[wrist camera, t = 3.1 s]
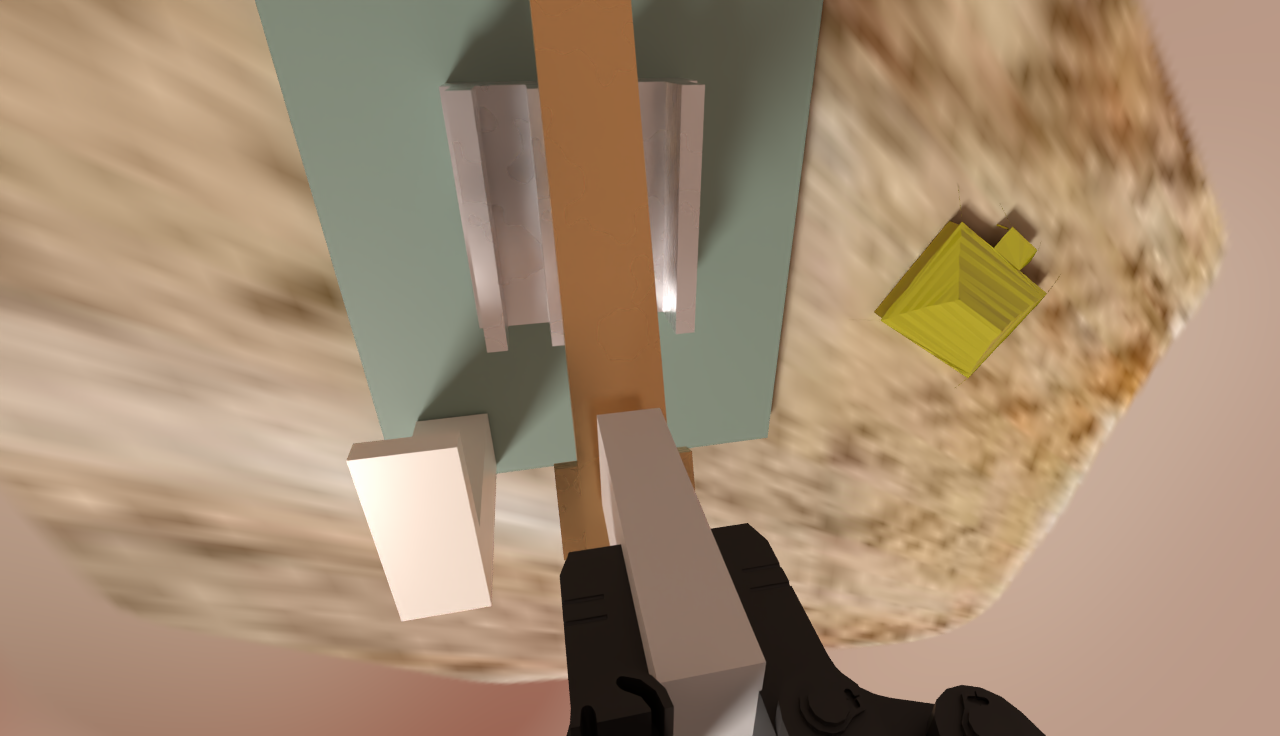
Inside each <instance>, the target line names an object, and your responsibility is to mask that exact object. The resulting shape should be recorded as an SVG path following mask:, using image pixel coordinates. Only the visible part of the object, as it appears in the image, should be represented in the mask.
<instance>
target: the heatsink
mask: <svg viewBox="0 0 1280 736" xmlns="http://www.w3.org/2000/svg"><path fill="white" fill-rule="evenodd" d="M638 88H639V100H640V112H641V123H642V135H643V147H644V159H645V170H646V182H647V194H648V206H649V217H650V229H651V241H652V253H653V264H654V276H655V288H656V299H657V311H658V312H663V313H664V314H665V316H666V318H667V320H668V322H669V323H670V325H671V327H672V329H673V330H674V332H675V334H683V333H693V332H695V309H696V285H697V262H698V238H699V215H700V191H701V168H702V144H703V121H704V97H705V85H704V84H699V83H697V81H696V80H691V79H685V78H648V79H638ZM439 91H440V97H441V103H442V109H443V115H444V121H445V127H446V133H447V139H448V145H449V151H450V156H451V162H452V168H453V174H454V180H455V186H456V192H457V198H458V204H459V210H460V216H461V222H462V227H463V233H464V239H465V245H466V251H467V257H468V263H469V269H470V275H471V281H472V287H473V293H474V298H475V304H476V310H477V316H478V322H479V328H483V330H484V336H485V342H486V348H487V353H489V352H499V351H508V330H509V326H512V325H523V324H534V323H545V322H549V325H550V332H551V340H552V346H561V345H565V343H564V333H563V323H562V314H561V304H560V294H559V285H558V275H557V265H556V256H555V246H554V236H553V227H552V217H551V207H550V198H549V188H548V178H547V169H546V159H545V149H544V139H543V130H542V120H541V110H540V101H539V91H538V81H510V82H464V83H444V84H443V85H441V86H439Z"/></svg>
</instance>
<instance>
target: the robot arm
mask: <svg viewBox="0 0 1280 736" xmlns="http://www.w3.org/2000/svg"><path fill="white" fill-rule="evenodd" d="M597 428H598V445H599V462H600V478H601V495H602V507H603V512H604V517H605V522H606V527H607V532H608V538H609V543H610V546H606V547H600V548H593V549H587V550H580V551H574V552H569V553H568V556H567V558H566V561H565V564H564V566H563V569H562V571H561V574H560V585H561V597H562V609H563V621H564V633H565V645H566V657H567V669H568V680H569V691H570V704H571V716H570V725H569V729H568V732H567V736H1046V735H1045V734H1043V733H1042V732H1041V731H1040V730H1039V729H1038V728H1037V727H1036V726H1035V725H1034V724H1033V723H1032V722H1031V721H1030V720H1029V719H1028V718H1027V717H1026V716H1025V715H1024V714H1023V713H1022V712H1021V711H1019V710H1018V709H1017V708H1015V707H1014V706H1013V705H1011V704H1010V703H1009V702H1007V701H1006V700H1005V699H1004V698H1002V697H1000V696H998V695H996V694H994V693H992V692H990V691H987V690H985V689H983V688H980V687H973V686H965V685H960V686H956V687H953V688H949V689H946V690H945V691H944V692H943V693H942V694H941V695H940V697H939V698H938V699H937V700H936V702H935V704H930V703H923V702H916V701H909V700H901V699H895V698H888V697H884V696H880V695H876V694H873V693H871V692H869V691H867V690H865V689H863V688H860V687H859V686H858V684H856V683H855V682H854V681H852V680H851V679H849V678H848V677H847V676H845V675H844V674H842V673H841V672H840V671H839V670H838V669H837V668H836V667H835V665H834V664H833V662H832V661H831V659H830V658H829V656H828V654H827V652H826V651H825V649H824V647H823V645H822V643H821V641H820V639H819V637H818V635H817V633H816V632H815V630H814V628H813V626H812V624H811V622H810V620H809V618H808V616H807V614H806V613H805V611H804V609H803V607H802V605H801V603H800V601H799V599H798V597H797V595H796V594H795V592H794V590H793V588H792V586H790V585H789V580H788V578H787V576H786V575H785V573H784V571H783V569H782V567H780V565H779V561H778V559H777V557H776V556H775V554H774V552H773V550H772V548H771V546H770V544H769V542H768V541H767V540H766V539H765V538H764V537H763V536H762V535H761V534H759V533H758V532H757V531H756V530H755V529H754V528H753V527H752V526H750V525H749V524H748V523H745V524H739V525H732V526H726V527H719V528H713V529H710V526H709V524H708V522H707V519H706V517H705V514H704V512H703V510H702V507H701V505H700V502H699V500H698V498H697V495H696V493H695V490H694V488H693V486H692V483H691V481H690V478H689V476H688V474H687V471H686V469H685V466H684V464H683V462H682V459H681V457H680V454H679V452H678V450H677V447H676V445H675V442H674V440H673V438H672V435H671V433H670V430H669V428H668V426H667V423H666V421H665V419H664V416H663V414H662V411H661V409H660V408H653V409H644V410H636V411H627V412H618V413H610V414H601V415H597Z"/></svg>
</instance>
